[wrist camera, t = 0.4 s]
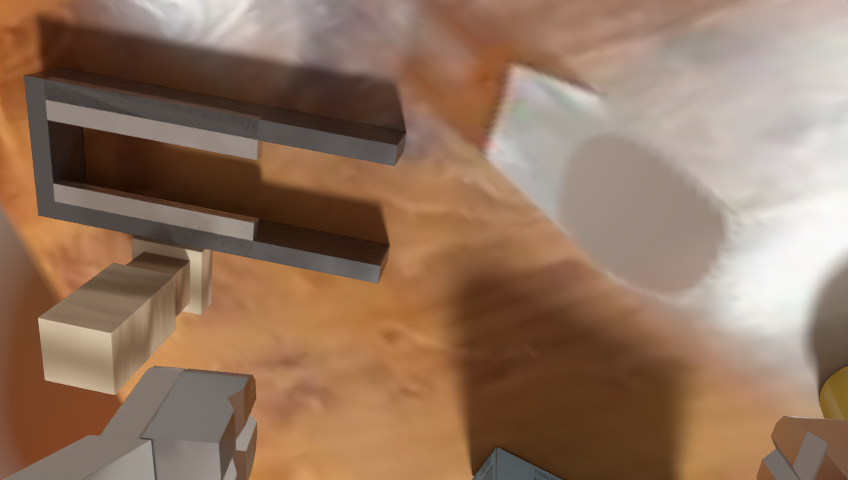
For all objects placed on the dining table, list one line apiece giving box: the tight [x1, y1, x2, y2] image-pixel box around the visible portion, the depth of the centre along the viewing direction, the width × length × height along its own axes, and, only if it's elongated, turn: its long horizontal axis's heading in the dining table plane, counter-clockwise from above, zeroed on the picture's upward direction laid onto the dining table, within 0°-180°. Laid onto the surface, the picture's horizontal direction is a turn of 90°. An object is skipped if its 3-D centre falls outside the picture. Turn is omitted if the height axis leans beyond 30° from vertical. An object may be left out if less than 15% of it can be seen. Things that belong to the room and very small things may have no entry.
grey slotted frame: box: [24, 68, 406, 283], centre depth 48 cm, size 11×28×4 cm, turn 81°
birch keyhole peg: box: [38, 235, 212, 395], centre depth 48 cm, size 6×6×14 cm
